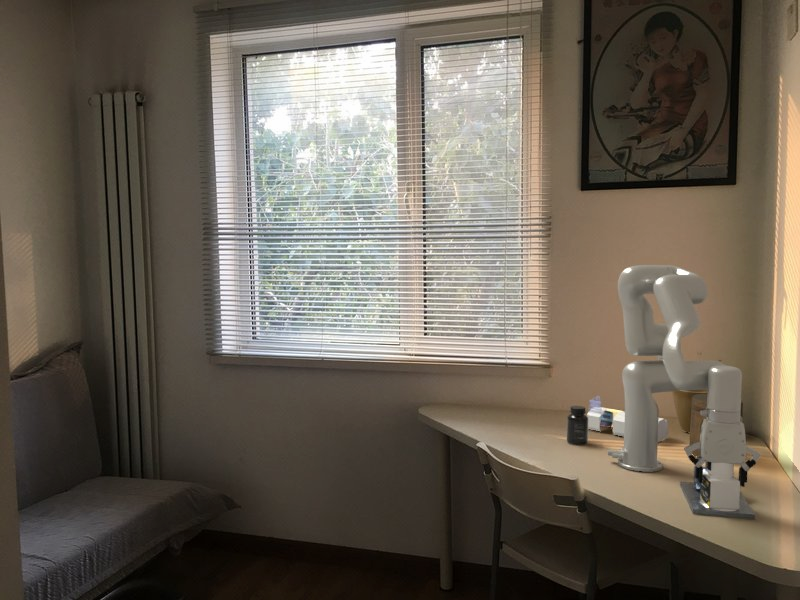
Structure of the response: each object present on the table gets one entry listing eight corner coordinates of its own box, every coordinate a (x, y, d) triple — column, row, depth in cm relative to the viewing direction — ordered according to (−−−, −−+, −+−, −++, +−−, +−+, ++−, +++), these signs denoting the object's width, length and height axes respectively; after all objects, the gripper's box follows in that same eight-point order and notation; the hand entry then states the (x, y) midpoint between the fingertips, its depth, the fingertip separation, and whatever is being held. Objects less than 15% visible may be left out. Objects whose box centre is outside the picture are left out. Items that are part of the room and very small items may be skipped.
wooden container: (707, 463, 203) (710, 392, 201) (679, 449, 217) (682, 382, 216) (751, 461, 205) (755, 390, 203) (721, 447, 220) (724, 381, 218)
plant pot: (680, 423, 248) (681, 381, 247) (722, 431, 238) (724, 387, 237) (663, 431, 238) (664, 387, 237) (706, 440, 227) (708, 393, 226)
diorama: (586, 431, 239) (587, 395, 238) (600, 425, 247) (601, 390, 246) (654, 445, 222) (655, 407, 221) (667, 439, 229) (668, 402, 228)
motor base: (692, 513, 165) (694, 477, 164) (679, 485, 184) (681, 452, 183) (755, 519, 161) (757, 482, 161) (735, 490, 181) (737, 457, 180)
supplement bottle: (591, 442, 224) (592, 407, 223) (580, 446, 220) (581, 410, 219) (573, 438, 229) (574, 403, 228) (562, 442, 224) (563, 407, 224)
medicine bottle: (699, 497, 172) (701, 452, 171) (728, 498, 171) (730, 453, 170) (709, 508, 165) (710, 460, 164) (739, 509, 164) (741, 461, 163)
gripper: (688, 417, 164) (685, 485, 166) (766, 422, 160) (762, 491, 162) (683, 410, 172) (680, 475, 173) (757, 414, 167) (754, 481, 169)
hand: (720, 483), depth 167 cm, fingers open, 9 cm apart
